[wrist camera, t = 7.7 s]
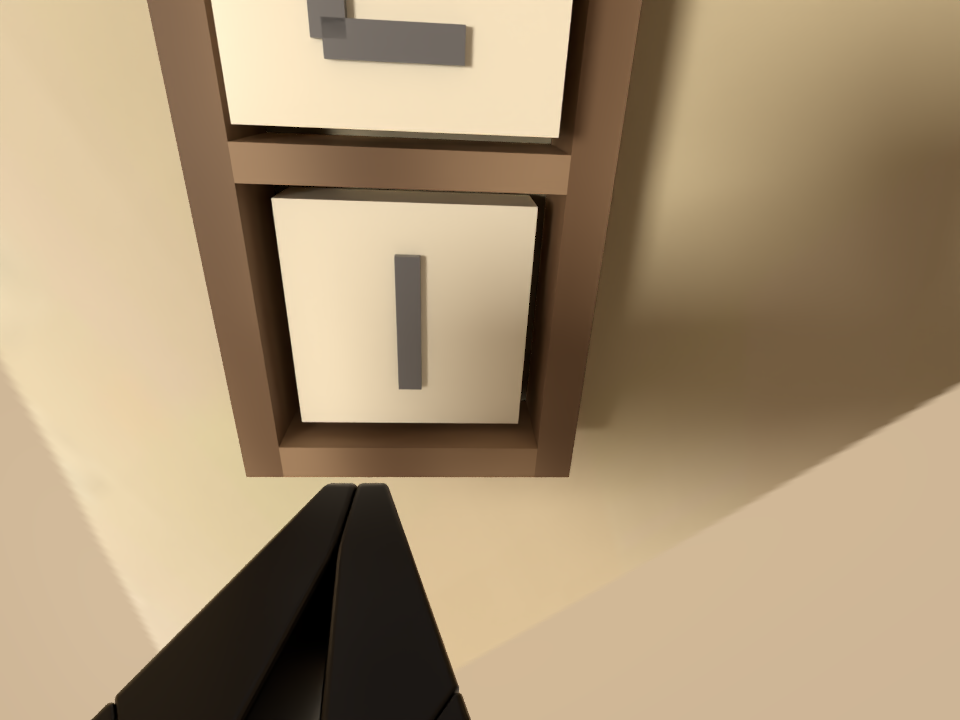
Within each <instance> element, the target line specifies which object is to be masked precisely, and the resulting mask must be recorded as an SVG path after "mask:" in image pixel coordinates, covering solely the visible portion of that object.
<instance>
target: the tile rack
mask: <svg viewBox="0 0 960 720" xmlns="http://www.w3.org/2000/svg"><path fill="white" fill-rule="evenodd" d="M147 3H148V7H149V12H150V17H151V22H152V26H153V31H154V36H155V41H156V46H157V50H158V55H159V60H160V65H161V70H162V74H163V79H164V84H165V89H166V93H167V98H168V103H169V108H170V113H171V117H172V122H173V127H174V132H175V137H176V141H177V146H178V151H179V156H180V160H181V165H182V170H183V175H184V180H185V184H186V189H187V194H188V199H189V204H190V208H191V213H192V218H193V223H194V227H195V232H196V237H197V242H198V247H199V251H200V256H201V261H202V266H203V271H204V275H205V280H206V285H207V290H208V294H209V299H210V304H211V309H212V314H213V318H214V323H215V328H216V333H217V338H218V342H219V347H220V352H221V357H222V361H223V366H224V371H225V376H226V381H227V385H228V390H229V395H230V400H231V405H232V409H233V414H234V419H235V424H236V428H237V433H238V438H239V443H240V448H241V452H242V457H243V462H244V467H245V472H246V476H247V477H569V473H570V466H571V460H572V453H573V447H574V440H575V434H576V427H577V421H578V414H579V408H580V401H581V395H582V388H583V382H584V375H585V369H586V362H587V356H588V349H589V343H590V336H591V330H592V323H593V317H594V310H595V304H596V297H597V291H598V285H599V278H600V272H601V265H602V259H603V252H604V246H605V239H606V233H607V226H608V220H609V213H610V207H611V200H612V194H613V187H614V181H615V174H616V168H617V161H618V155H619V148H620V142H621V135H622V129H623V122H624V116H625V109H626V103H627V96H628V90H629V83H630V77H631V70H632V64H633V57H634V51H635V45H636V38H637V32H638V25H639V19H640V12H641V6H642V0H573V2H572V12H571V22H570V31H569V41H568V51H567V60H566V70H565V80H564V89H563V99H562V109H561V118H560V128H559V138H552V139H551V144H539V143H514V142H490V141H466V140H442V139H418V138H394V137H370V136H346V135H321V134H297V133H273V132H266V125H243V124H231V121H230V114H229V108H228V102H227V96H226V90H225V84H224V77H223V71H222V65H221V59H220V53H219V47H218V40H217V34H216V28H215V22H214V16H213V9H212V3H211V0H147ZM274 185H302V186H330V187H358V188H387V189H415V190H443V191H472V192H500V193H528V194H546V201H545V211H544V221H543V231H542V242H541V252H540V262H539V272H538V283H537V293H536V303H535V314H534V324H533V334H532V344H531V355H530V365H529V375H528V385H527V396H526V401H520V408H519V418H518V424H512V423H375V422H302V418H301V411H300V404H299V396H298V389H297V382H296V375H295V367H294V360H293V353H292V346H291V338H290V331H289V324H288V317H287V309H286V302H285V295H284V288H283V280H282V273H281V266H280V259H279V251H278V244H277V237H276V230H275V223H274V215H273V208H272V201H271V198H272V197H274V196H275V191H274Z"/></svg>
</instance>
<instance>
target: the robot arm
mask: <svg viewBox="0 0 960 720" xmlns="http://www.w3.org/2000/svg"><path fill="white" fill-rule="evenodd" d="M92 720H471V719H470V716H469V713H468V711H467V708H466V705H465V702H464V699H463V697H462V694H460V693H459V686H458V683H457V681H456V678H455V675H454V672H453V669H452V666H451V663H450V661H449V658H448V655H447V652H446V649H445V646H444V644H443V641H442V638H441V635H440V632H439V629H438V626H437V624H436V621H435V618H434V615H433V612H432V609H431V607H430V604H429V601H428V598H427V595H426V592H425V590H424V587H423V584H422V581H421V578H420V575H419V573H418V570H417V567H416V564H415V561H414V558H413V556H412V553H411V550H410V547H409V544H408V541H407V538H406V536H405V533H404V530H403V527H402V524H401V521H400V519H399V516H398V513H397V510H396V507H395V504H394V502H393V499H392V496H391V493H390V490H389V488H388V486H387V485H386V484H384V483H362V484H360V485H359V486H358V487H357V486H356V485H355V484H353V483H331V484H328V485H326V486H324V487H323V488H322V489H321V490H320V491H319V492H318V493H317V494H316V495H315V496H314V497H313V498H312V499H311V500H310V501H309V502H308V503H307V504H306V505H305V506H304V507H303V508H302V509H301V510H300V511H299V512H298V513H297V514H296V515H295V516H294V517H293V518H292V519H291V520H290V521H289V522H288V523H287V524H286V525H285V526H284V527H283V528H282V529H281V530H280V531H279V532H278V533H277V534H276V535H275V536H274V537H273V538H272V539H271V540H270V541H269V542H268V543H267V545H266V546H265V547H264V548H263V549H262V550H261V551H260V552H259V553H258V554H257V555H256V556H255V557H254V558H253V559H252V560H251V561H250V562H249V563H248V564H247V565H246V566H245V567H244V568H243V569H242V570H241V571H240V572H239V573H238V574H237V575H236V576H235V577H234V578H233V579H232V580H231V581H230V582H229V583H228V584H227V585H226V586H225V587H224V588H223V589H222V590H221V591H220V592H219V593H218V594H217V595H216V596H215V597H214V598H213V599H212V600H211V601H210V602H209V603H208V604H207V605H206V606H205V607H204V608H203V609H202V610H201V611H200V612H199V613H198V614H197V615H196V616H195V617H194V618H193V619H192V620H191V621H190V622H189V623H188V624H187V625H186V626H185V627H184V628H183V629H182V630H181V631H180V632H179V633H178V634H177V635H176V636H175V637H174V638H173V639H172V640H171V641H170V642H169V643H168V644H167V645H166V646H165V647H164V648H163V649H162V650H161V651H160V652H159V653H158V654H157V655H156V656H155V657H154V658H153V659H152V660H151V661H150V662H149V663H148V664H147V665H146V666H145V667H144V668H143V669H142V670H141V671H140V672H139V673H138V674H137V675H136V676H135V677H134V678H133V679H132V680H131V681H130V682H129V683H128V684H127V685H126V686H125V687H124V688H123V689H122V690H121V691H120V692H119V693H118V694H117V695H116V698H115V704H114V703H108V704H107V705H106V706H105V707H104V708H103V709H102V710H101V711H100V712H99V713H98V714H97V715H96V716H95V717H94V718H93V719H92Z"/></svg>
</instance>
